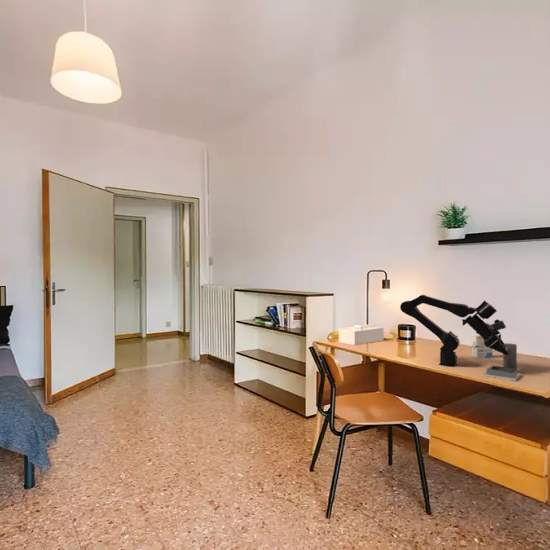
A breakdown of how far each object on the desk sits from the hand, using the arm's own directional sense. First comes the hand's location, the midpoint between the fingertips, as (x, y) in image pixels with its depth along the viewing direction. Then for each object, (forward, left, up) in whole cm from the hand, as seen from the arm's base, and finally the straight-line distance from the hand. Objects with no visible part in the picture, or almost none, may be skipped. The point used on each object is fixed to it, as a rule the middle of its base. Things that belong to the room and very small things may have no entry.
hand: (507, 352), depth 176 cm
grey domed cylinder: (+1, 0, -8) cm, 8 cm away
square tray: (0, -10, -8) cm, 13 cm away
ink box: (-16, +24, -9) cm, 30 cm away
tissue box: (-87, +26, -9) cm, 91 cm away
